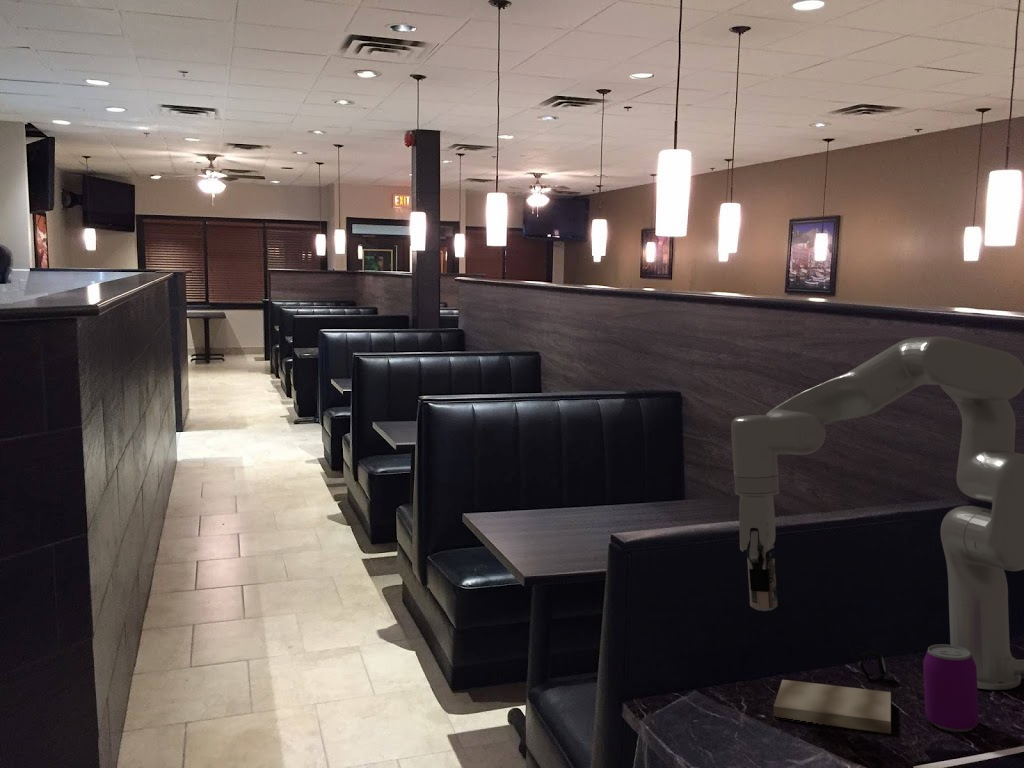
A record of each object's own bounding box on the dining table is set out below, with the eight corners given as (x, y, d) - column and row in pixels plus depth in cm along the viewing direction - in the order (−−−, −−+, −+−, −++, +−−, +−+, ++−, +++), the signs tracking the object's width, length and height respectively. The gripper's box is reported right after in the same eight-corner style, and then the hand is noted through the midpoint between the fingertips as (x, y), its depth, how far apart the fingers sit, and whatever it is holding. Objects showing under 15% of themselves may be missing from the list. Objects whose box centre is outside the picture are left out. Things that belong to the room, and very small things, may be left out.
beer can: (779, 612, 141) (775, 544, 140) (751, 612, 142) (746, 544, 141) (776, 603, 145) (772, 537, 145) (748, 603, 146) (744, 538, 146)
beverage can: (928, 731, 129) (925, 657, 129) (923, 711, 136) (920, 641, 136) (982, 737, 126) (979, 661, 126) (974, 716, 134) (972, 644, 133)
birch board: (891, 703, 140) (890, 692, 140) (891, 733, 129) (890, 721, 129) (782, 690, 148) (782, 679, 148) (774, 717, 137) (773, 706, 137)
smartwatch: (881, 684, 148) (880, 658, 148) (854, 677, 152) (853, 651, 152) (892, 678, 150) (891, 652, 150) (866, 671, 154) (864, 645, 154)
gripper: (743, 477, 152) (749, 572, 153) (725, 493, 137) (732, 599, 137) (785, 477, 149) (791, 575, 149) (771, 493, 134) (777, 602, 134)
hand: (762, 585), depth 143 cm, fingers closed on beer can, 4 cm apart
